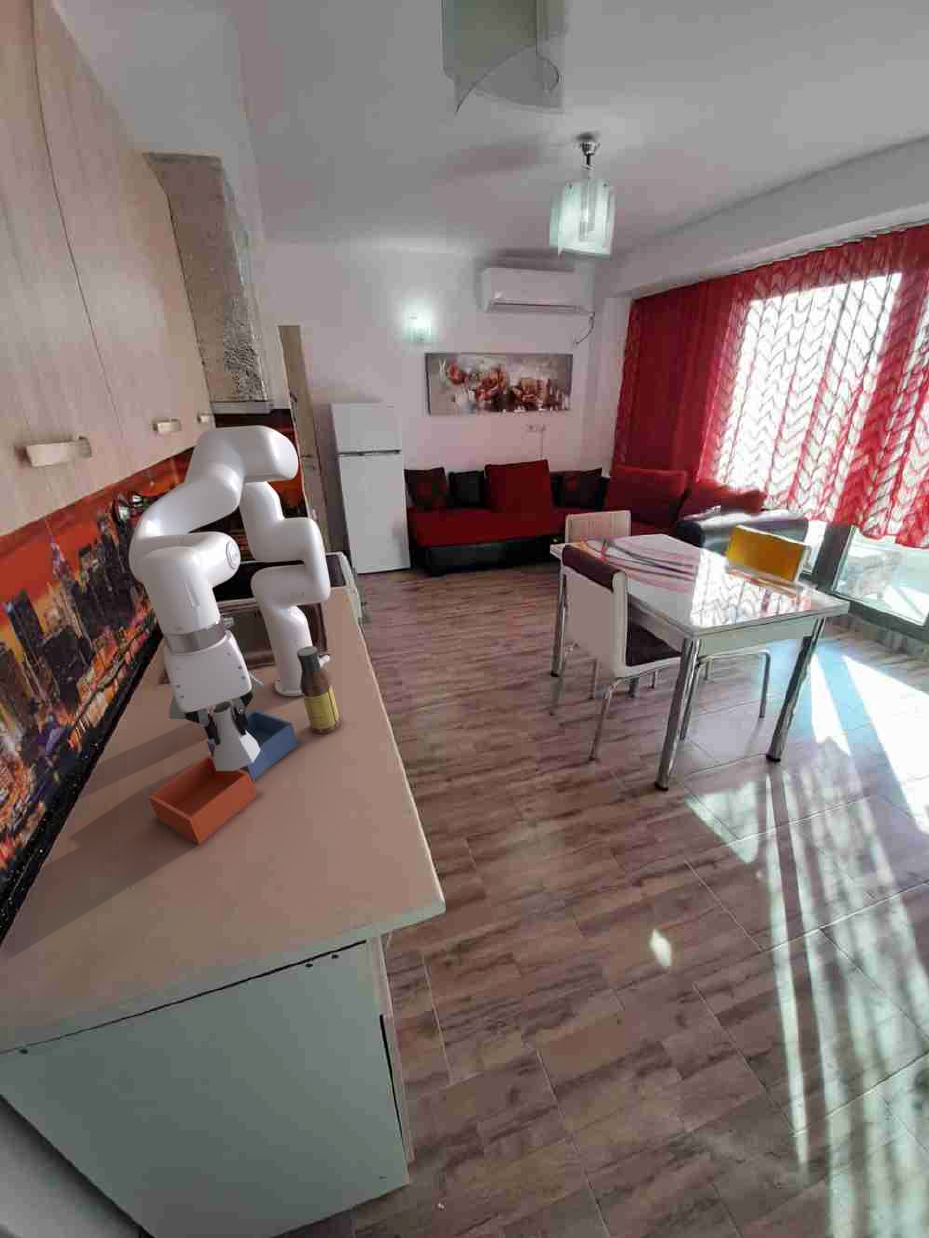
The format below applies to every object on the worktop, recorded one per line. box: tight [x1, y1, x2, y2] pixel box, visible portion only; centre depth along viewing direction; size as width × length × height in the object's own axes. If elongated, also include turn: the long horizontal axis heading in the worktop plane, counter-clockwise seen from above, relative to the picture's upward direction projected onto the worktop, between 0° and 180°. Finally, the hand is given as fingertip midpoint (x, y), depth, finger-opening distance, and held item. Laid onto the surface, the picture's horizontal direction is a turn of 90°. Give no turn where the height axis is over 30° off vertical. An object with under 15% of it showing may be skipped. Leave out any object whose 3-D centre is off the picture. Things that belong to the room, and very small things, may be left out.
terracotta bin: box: [147, 754, 257, 845], centre depth 85 cm, size 12×12×6 cm
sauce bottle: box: [297, 645, 340, 734], centre depth 102 cm, size 6×6×20 cm
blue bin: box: [206, 709, 299, 782], centre depth 98 cm, size 12×12×6 cm
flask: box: [209, 700, 261, 771], centre depth 75 cm, size 7×7×10 cm
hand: (230, 734), depth 75 cm, fingers closed on flask, 3 cm apart
